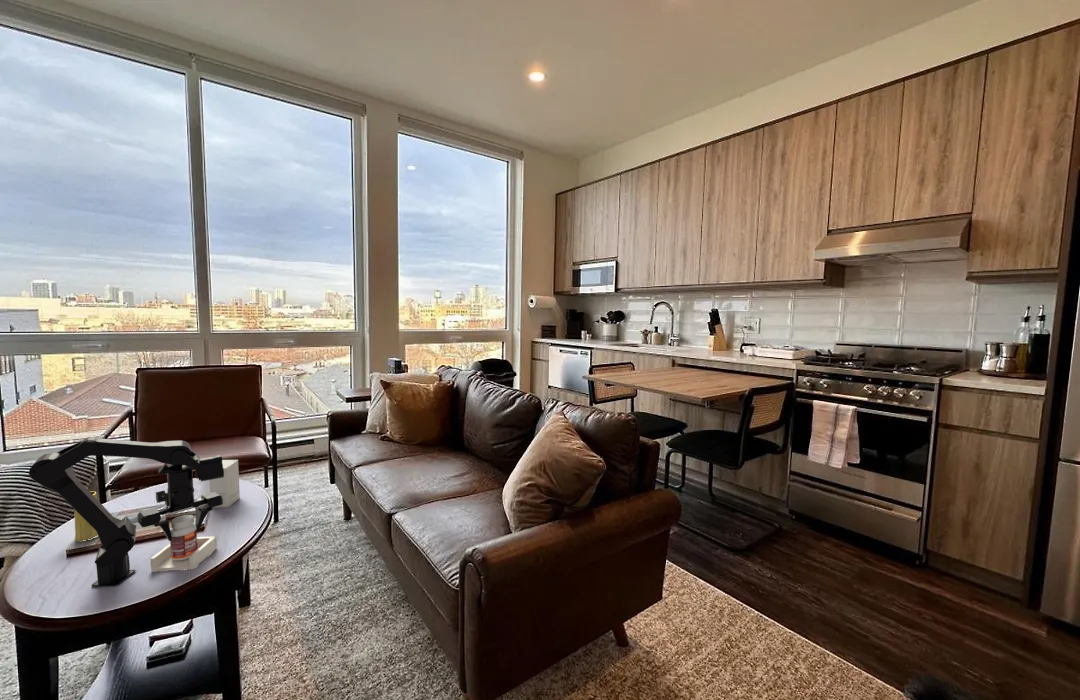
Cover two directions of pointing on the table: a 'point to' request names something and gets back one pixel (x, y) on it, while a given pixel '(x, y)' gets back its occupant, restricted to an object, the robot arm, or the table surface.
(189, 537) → the pill bottle
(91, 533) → the vase
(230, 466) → the skincare box
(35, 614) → the table surface
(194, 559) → the end holder
